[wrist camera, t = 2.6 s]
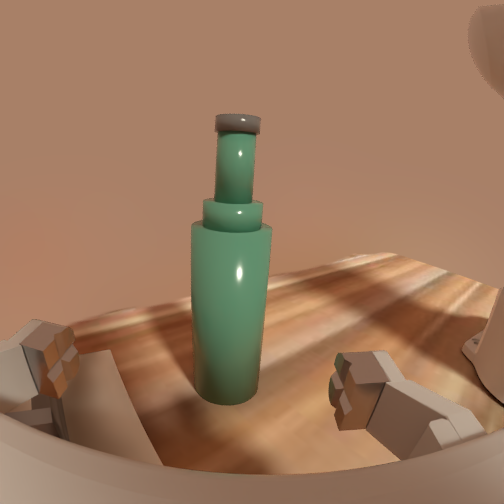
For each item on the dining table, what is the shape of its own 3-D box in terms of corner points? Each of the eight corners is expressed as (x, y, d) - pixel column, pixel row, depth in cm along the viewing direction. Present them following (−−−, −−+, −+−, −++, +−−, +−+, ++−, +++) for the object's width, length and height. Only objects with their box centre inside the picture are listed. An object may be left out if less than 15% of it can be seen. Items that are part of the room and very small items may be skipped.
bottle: (236, 359, 27) (249, 124, 21) (270, 391, 23) (297, 120, 17) (184, 374, 24) (183, 117, 18) (213, 413, 20) (221, 106, 14)
